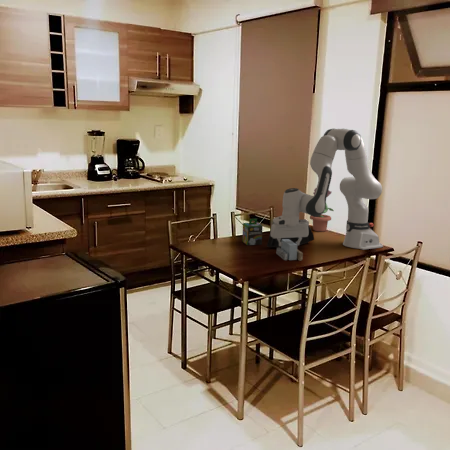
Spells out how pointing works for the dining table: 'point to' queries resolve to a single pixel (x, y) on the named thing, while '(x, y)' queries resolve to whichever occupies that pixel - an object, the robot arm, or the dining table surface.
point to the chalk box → (252, 233)
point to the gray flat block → (281, 253)
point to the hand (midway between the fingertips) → (289, 245)
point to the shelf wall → (299, 255)
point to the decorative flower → (321, 218)
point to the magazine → (274, 242)
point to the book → (289, 249)
